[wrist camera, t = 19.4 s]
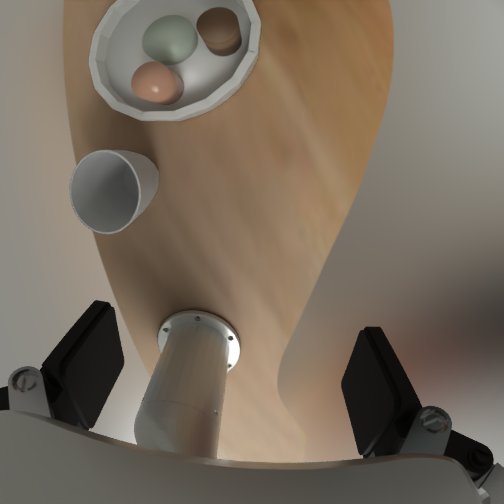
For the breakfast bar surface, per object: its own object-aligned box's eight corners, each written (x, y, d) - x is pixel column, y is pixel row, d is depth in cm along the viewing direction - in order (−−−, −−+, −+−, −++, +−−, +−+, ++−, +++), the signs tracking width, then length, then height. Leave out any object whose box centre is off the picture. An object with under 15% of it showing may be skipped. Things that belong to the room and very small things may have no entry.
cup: (103, 168, 33) (57, 181, 24) (151, 132, 32) (113, 132, 23) (133, 220, 36) (96, 248, 27) (183, 188, 34) (156, 207, 25)
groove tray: (251, 125, 31) (250, 123, 28) (95, 124, 31) (81, 124, 28) (266, -17, 24) (267, -30, 21) (117, -7, 24) (106, -16, 21)
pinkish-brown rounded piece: (186, 72, 28) (171, 60, 23) (182, 104, 30) (166, 98, 24) (153, 73, 28) (133, 63, 23) (150, 105, 30) (129, 100, 24)
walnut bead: (240, 57, 28) (236, 40, 22) (204, 56, 27) (193, 40, 22) (243, 27, 26) (240, 7, 20) (208, 27, 26) (199, 7, 20)
